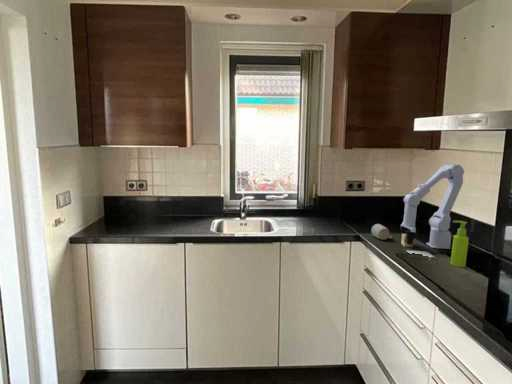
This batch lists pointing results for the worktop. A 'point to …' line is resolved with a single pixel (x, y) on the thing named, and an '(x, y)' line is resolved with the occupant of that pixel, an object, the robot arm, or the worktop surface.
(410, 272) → the worktop surface
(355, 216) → the worktop surface
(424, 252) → the blue-grey mat
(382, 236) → the ceramic mug
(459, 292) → the worktop surface
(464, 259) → the soap dispenser
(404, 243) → the maple block
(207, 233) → the worktop surface
